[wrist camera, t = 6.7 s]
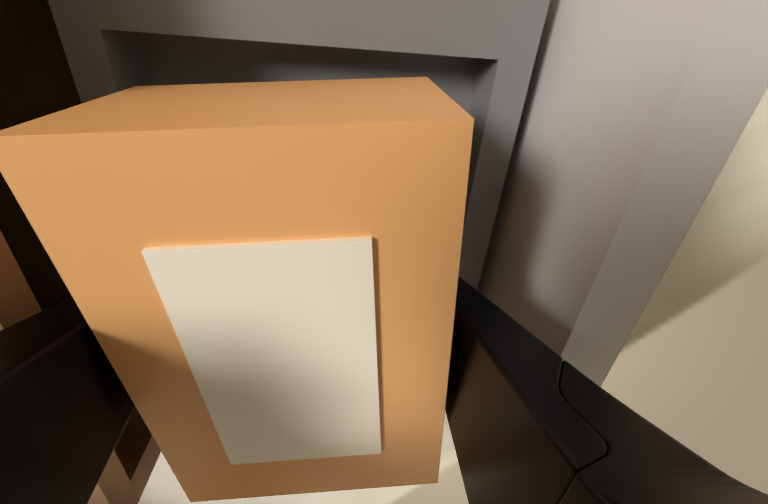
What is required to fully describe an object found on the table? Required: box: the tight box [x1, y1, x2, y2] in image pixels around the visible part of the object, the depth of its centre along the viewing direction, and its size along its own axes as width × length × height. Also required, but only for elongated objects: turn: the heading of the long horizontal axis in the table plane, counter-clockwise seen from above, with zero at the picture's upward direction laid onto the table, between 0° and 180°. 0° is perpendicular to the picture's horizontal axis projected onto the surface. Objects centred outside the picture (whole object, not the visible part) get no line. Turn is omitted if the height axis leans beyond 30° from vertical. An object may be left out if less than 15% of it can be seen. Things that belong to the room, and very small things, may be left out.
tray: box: [48, 0, 768, 386], centre depth 10 cm, size 15×11×6 cm
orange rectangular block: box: [0, 77, 474, 502], centre depth 8 cm, size 8×6×4 cm
